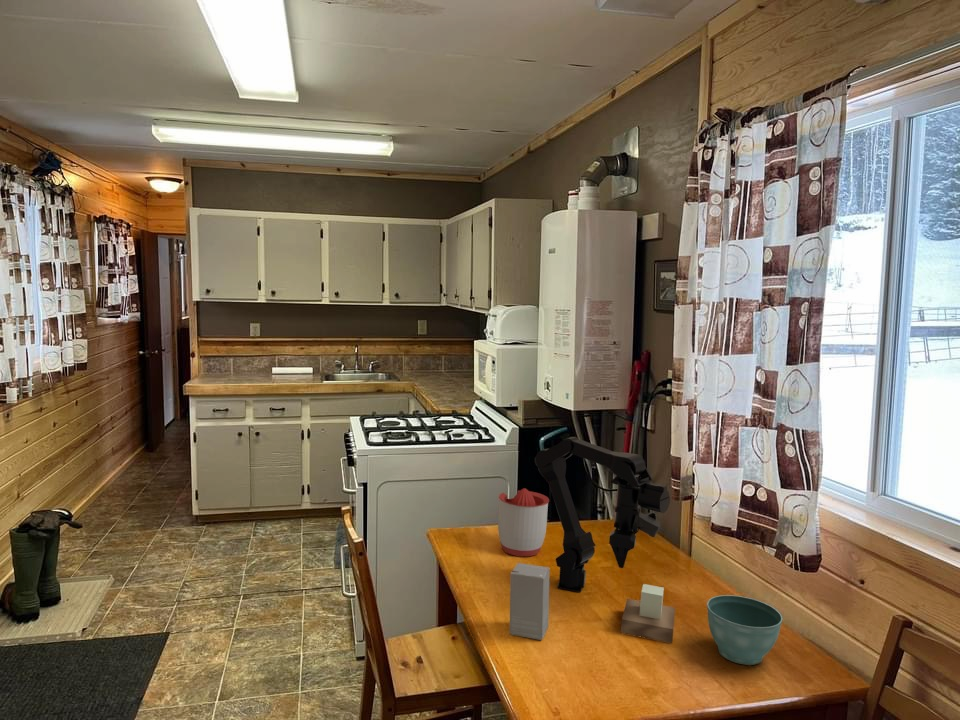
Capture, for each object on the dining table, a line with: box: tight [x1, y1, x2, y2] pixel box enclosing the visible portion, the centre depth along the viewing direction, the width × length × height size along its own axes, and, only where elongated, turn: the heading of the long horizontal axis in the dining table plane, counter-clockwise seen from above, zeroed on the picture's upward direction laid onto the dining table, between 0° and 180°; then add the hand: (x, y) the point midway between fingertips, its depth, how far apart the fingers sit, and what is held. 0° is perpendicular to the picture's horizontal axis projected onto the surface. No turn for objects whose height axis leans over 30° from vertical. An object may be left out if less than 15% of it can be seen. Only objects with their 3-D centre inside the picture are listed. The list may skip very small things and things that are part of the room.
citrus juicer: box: [497, 487, 550, 558], centre depth 214 cm, size 16×17×20 cm
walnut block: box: [620, 598, 676, 644], centre depth 169 cm, size 12×12×4 cm
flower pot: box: [706, 594, 783, 666], centre depth 158 cm, size 16×16×11 cm
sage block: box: [639, 583, 665, 619], centre depth 169 cm, size 5×5×6 cm
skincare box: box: [509, 562, 550, 641], centre depth 162 cm, size 8×7×16 cm
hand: (623, 561), depth 179 cm, fingers open, 9 cm apart
